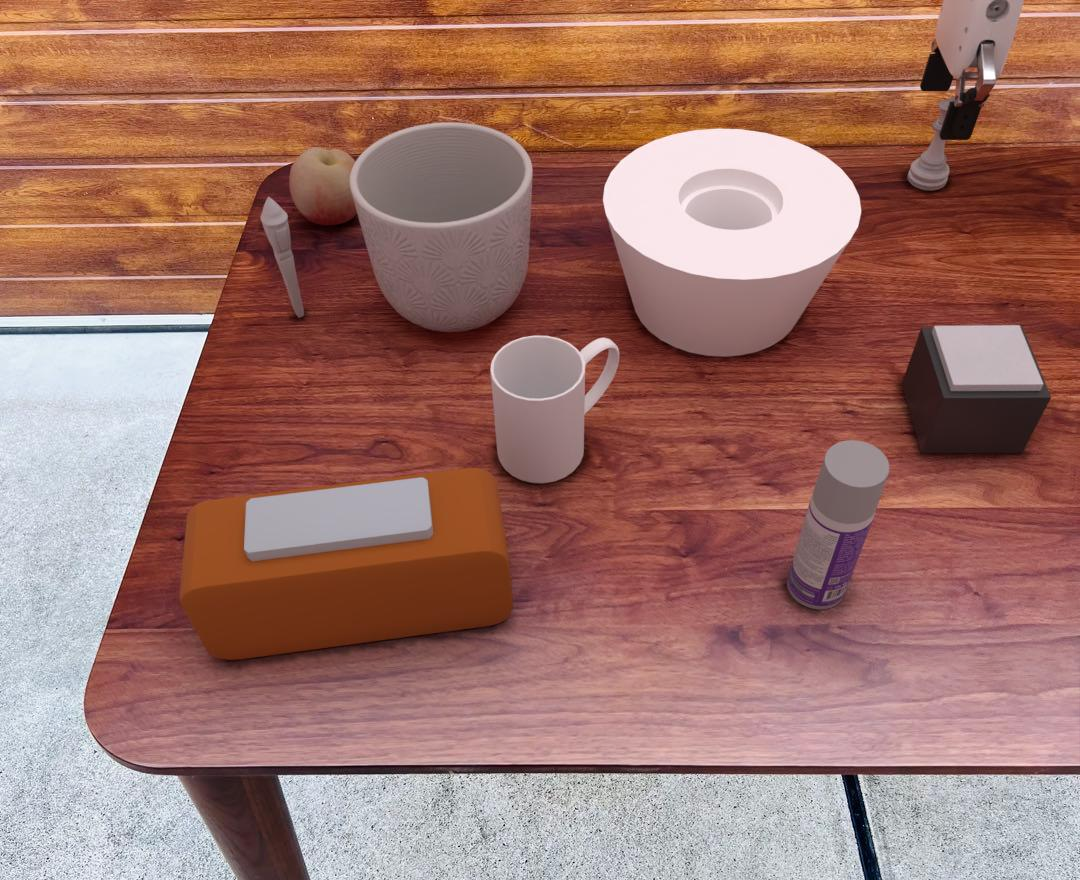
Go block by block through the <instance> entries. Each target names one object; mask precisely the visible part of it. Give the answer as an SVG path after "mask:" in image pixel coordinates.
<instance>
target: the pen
mask: <svg viewBox="0 0 1080 880" xmlns="http://www.w3.org/2000/svg"><path fill="white" fill-rule="evenodd" d="M288 218H289V216H288V213H287V211H285V210H284V209H283V208H282V207H281V206H280V205H279V204H278V203H277V202H276V201H275V200H274V199H273V198H271V197H270V196H267V198H266V200H265V203H264V204H263V208H262V212H261V214H260V217H259V219H260V221H261V224H262V227H263V230H264V233H265V236H266V238H267V240H268V243H269V244H270V246H271V247H272V250H273V251H272V252H273V254H274V258H275V260H276V264H277V265H278V266H277V267H278V269H279V272H280V273H281V276H282V279H283V283H284V285H285V288H286V291H287V294H288V297H289V300H290V303H291V307H292V309H293V311H294V314H295V315H296V317H297V318H298V319H301V318H303V317H304V316H305V310H304V304H303V300H302V295H301V290H300V287H299V281H298V275H297V269H296V264H295V258H294V254H293V251H292V241H291V231H290V224H289V221H288Z"/></svg>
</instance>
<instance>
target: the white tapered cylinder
mask: <svg viewBox="0 0 1080 880" xmlns="http://www.w3.org/2000/svg"><path fill="white" fill-rule="evenodd" d="M849 177H850V176H848V175H847V174H846V173H845V171H844V170H843V169H842V168H841V167H840V166H838V165H837V164H836V163H835V162H833V161H832V160H831V159H830V158H829V157H828V156H826V155H824V154H822V153H821V152H819V151H816V150H815V149H814V148H811V147H810V146H807V145H805V144H803V143H800V142H797V141H796V140H792V139H790V138H787V137H783V136H780V135H775V134H772V133H768V132H763V131H755V130H749V129H742V128H741V129H740V128H707V129H694V130H690V131H684V132H678V133H673V134H670V135H667V136H664V137H660V138H657V139H654V140H652V141H650V142H647V143H646V144H644V145H642V146H639V147H638V148H636V149H634V150H633V151H631V152H630V153H629V154H627V155H626V156H625V157H623V158H622V159H621V160H620V161H619V162H618V163H617V165H615V167H614V168H613V169H612V170H611V171H610V173H609V176H608V178H607V180H606V182H605V184H604V189H603V194H602V195H603V196H602V203H603V207H604V211H605V216H606V219H607V223H608V226H609V229H610V230H609V231H610V232H611V233H610V234H611V236H612V239H613V243H614V246H615V249H616V252H617V256H618V259H619V262H620V265H621V270H622V272H623V275H624V279H625V282H626V285H627V289H628V292H629V296H630V299H631V302H632V305H633V309H634V311H635V314H636V315H637V318H638V319H639V321H640V323H641V324H642V325H643V326H644V328H646V330H647V331H648V332H650V333H651V334H652V335H653V336H655V337H656V338H657V339H658V340H660V341H662V342H663V343H666V344H668V345H669V346H671V347H673V348H676V349H679V350H681V351H685V352H688V353H691V354H696V355H702V356H708V357H738V356H744V355H748V354H753V353H757V352H760V351H763V350H765V349H768V348H770V347H772V346H773V345H775V344H777V343H779V342H780V341H782V340H784V339H785V338H786V336H787V335H788V334H790V333H791V331H792V330H793V329H794V328H795V326H796V324H797V323H798V322H799V320H800V318H801V316H802V315H803V313H804V312H805V311H806V309H807V307H808V306H809V305H810V302H811V301H812V300H813V298H814V296H815V295H816V294H817V292H818V290H819V289H820V287H821V286H822V285H823V283H824V281H825V279H826V278H827V277H828V275H829V274H830V272H831V270H832V269H833V267H834V266H835V264H836V263H837V261H838V260H839V258H840V257H841V255H842V254H843V252H844V251H845V249H846V247H847V246H848V244H849V243H850V241H851V239H852V238H853V236H854V234H855V233H856V231H857V230H858V228H859V224H860V220H861V216H862V206H861V198H860V195H859V193H858V190H857V188H856V186H855V185H854V182H853V181H852V180H851V179H850V178H849Z"/></svg>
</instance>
